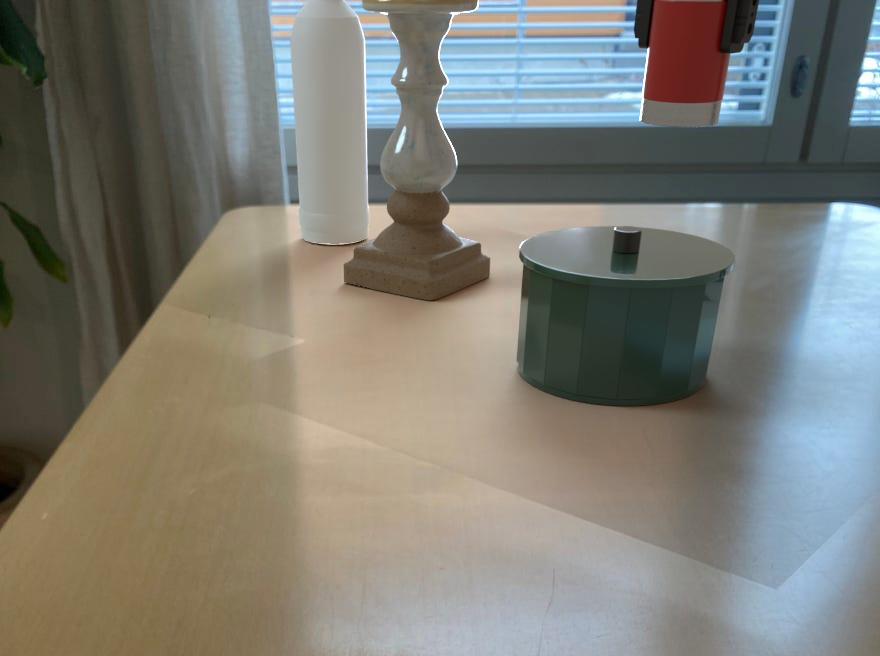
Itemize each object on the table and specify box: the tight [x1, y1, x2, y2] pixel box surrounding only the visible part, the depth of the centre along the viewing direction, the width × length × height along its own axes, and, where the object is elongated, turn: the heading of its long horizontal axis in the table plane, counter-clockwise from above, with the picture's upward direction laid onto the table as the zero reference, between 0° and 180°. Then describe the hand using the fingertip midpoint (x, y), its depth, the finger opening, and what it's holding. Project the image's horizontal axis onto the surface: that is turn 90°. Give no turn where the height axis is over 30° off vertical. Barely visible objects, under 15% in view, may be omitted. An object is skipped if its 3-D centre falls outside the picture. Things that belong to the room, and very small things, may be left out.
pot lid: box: [518, 225, 736, 289], centre depth 72 cm, size 16×16×3 cm
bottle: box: [289, 0, 370, 244], centre depth 104 cm, size 8×8×30 cm
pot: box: [516, 263, 726, 407], centre depth 75 cm, size 15×15×8 cm
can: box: [639, 0, 731, 128], centre depth 69 cm, size 6×6×9 cm
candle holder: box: [343, 0, 491, 301], centre depth 91 cm, size 11×11×24 cm
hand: (688, 49), depth 69 cm, fingers closed on can, 5 cm apart
